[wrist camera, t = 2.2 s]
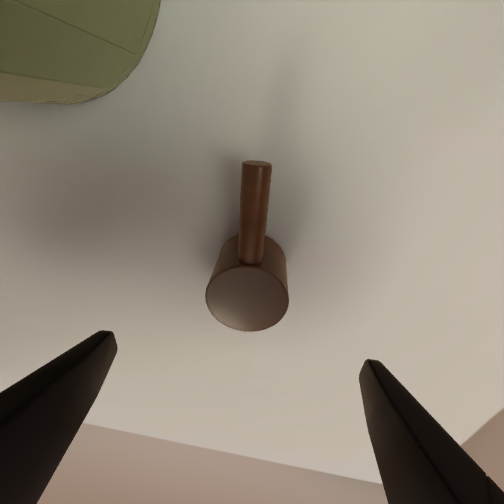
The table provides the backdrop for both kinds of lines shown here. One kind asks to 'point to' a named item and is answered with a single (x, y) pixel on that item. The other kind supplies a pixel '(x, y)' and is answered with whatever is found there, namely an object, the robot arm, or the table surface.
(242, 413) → the table surface
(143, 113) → the table surface
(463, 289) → the table surface
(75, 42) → the green round container
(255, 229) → the scoop
